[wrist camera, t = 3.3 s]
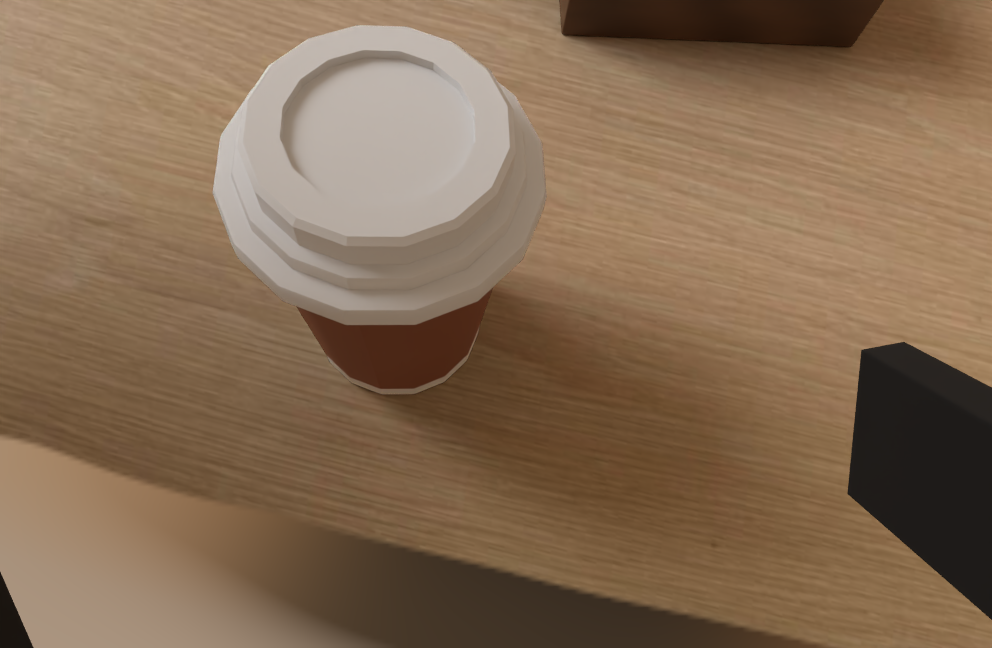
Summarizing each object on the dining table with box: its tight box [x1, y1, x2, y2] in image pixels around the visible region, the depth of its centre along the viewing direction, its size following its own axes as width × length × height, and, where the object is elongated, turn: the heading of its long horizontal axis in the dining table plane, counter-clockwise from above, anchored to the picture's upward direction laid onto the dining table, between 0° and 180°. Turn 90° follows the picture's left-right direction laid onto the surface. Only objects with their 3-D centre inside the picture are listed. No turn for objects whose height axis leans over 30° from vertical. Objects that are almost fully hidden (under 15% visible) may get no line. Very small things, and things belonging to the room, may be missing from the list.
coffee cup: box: [213, 25, 547, 394], centre depth 24 cm, size 9×9×12 cm
